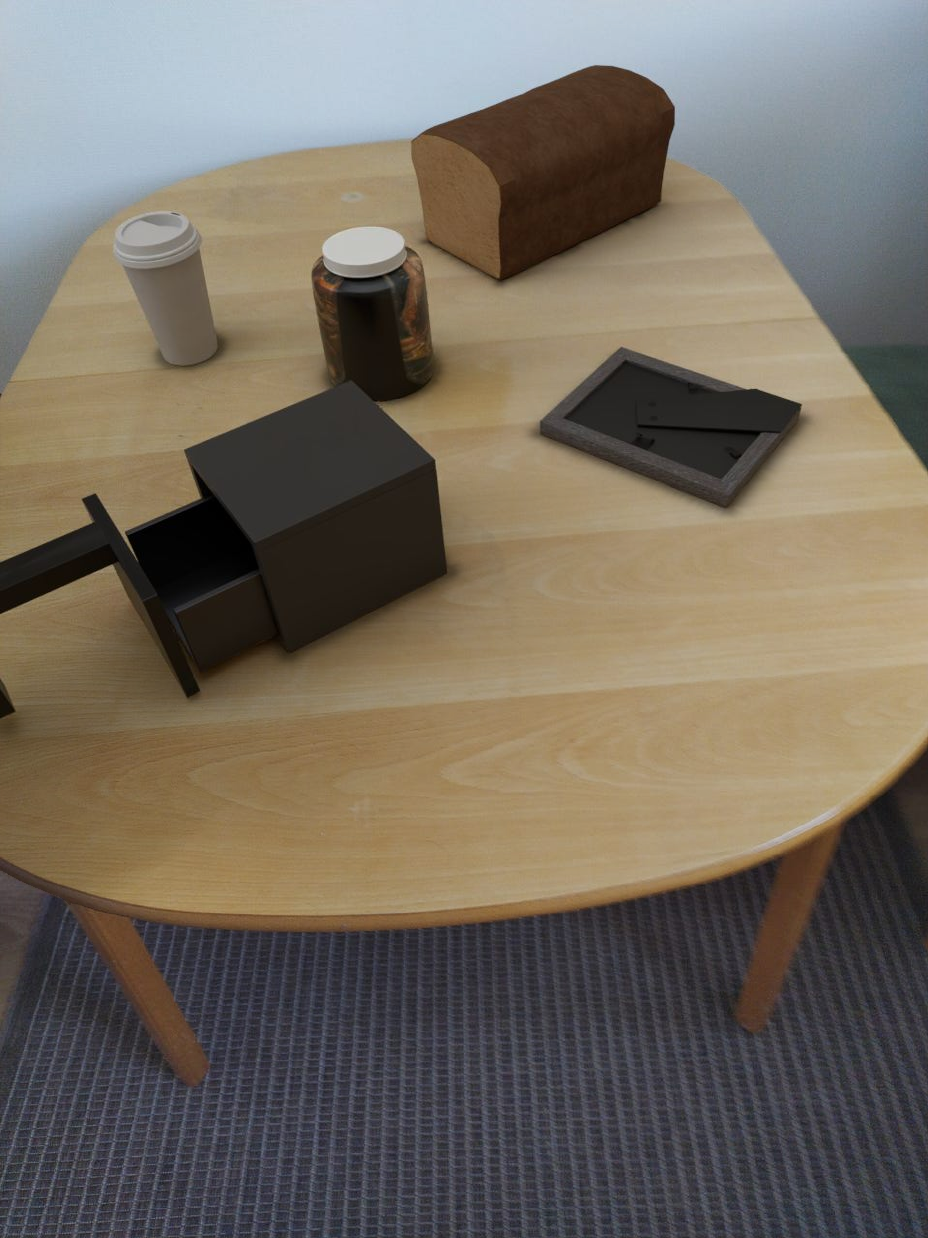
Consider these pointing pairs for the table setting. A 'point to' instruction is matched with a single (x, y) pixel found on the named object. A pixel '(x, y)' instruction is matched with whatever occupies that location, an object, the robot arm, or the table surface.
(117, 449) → the table surface
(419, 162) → the bread
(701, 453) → the picture frame
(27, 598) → the fryer drawer
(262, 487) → the box
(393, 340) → the jar
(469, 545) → the table surface
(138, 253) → the coffee cup
